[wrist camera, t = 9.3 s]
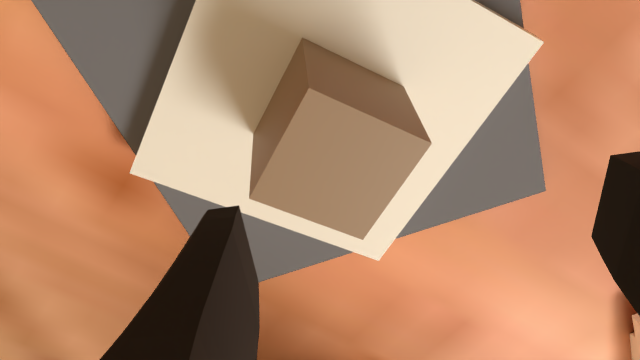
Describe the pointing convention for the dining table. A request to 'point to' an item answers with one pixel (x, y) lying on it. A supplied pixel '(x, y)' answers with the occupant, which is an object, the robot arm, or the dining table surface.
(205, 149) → the cover
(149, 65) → the mat
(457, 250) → the dining table surface
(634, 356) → the white wedge ramp
